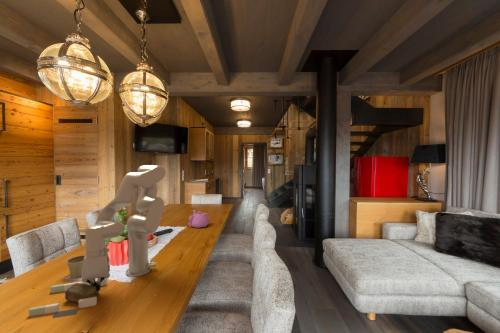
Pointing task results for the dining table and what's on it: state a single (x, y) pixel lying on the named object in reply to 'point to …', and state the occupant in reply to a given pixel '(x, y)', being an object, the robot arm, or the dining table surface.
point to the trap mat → (66, 313)
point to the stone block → (80, 292)
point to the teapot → (199, 219)
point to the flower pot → (75, 265)
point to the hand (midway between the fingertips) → (96, 292)
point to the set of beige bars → (55, 307)
